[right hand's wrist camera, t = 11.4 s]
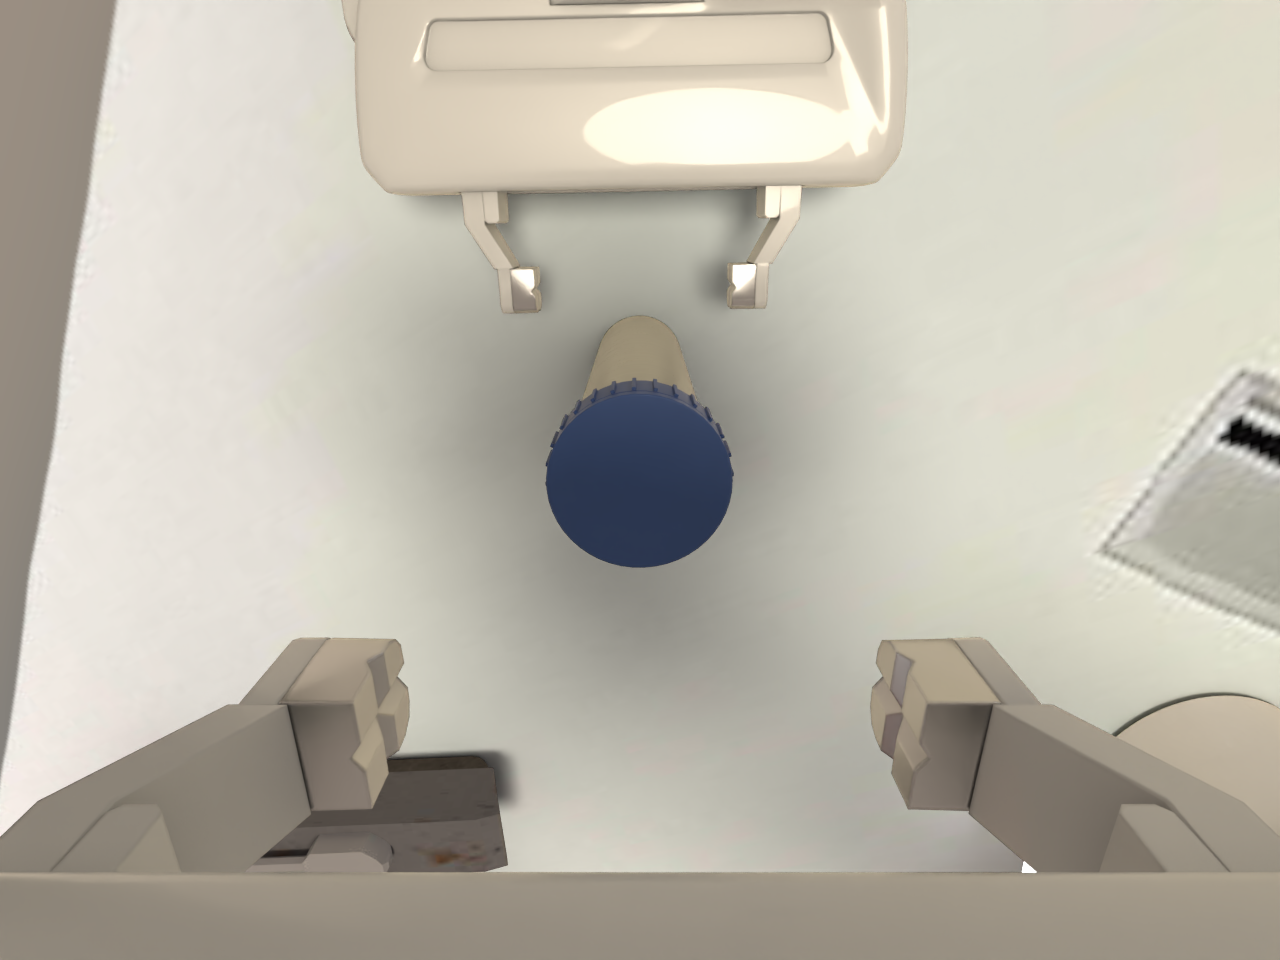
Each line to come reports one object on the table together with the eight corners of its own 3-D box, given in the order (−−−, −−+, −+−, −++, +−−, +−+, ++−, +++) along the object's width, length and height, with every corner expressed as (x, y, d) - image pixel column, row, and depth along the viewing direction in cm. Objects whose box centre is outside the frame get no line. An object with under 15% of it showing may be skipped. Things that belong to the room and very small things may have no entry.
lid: (515, 470, 20) (504, 491, 18) (632, 338, 18) (631, 349, 17) (645, 574, 21) (646, 603, 19) (764, 457, 20) (775, 478, 18)
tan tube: (581, 360, 35) (528, 485, 19) (636, 297, 34) (632, 369, 17) (642, 414, 36) (645, 577, 20) (698, 354, 35) (750, 473, 18)
